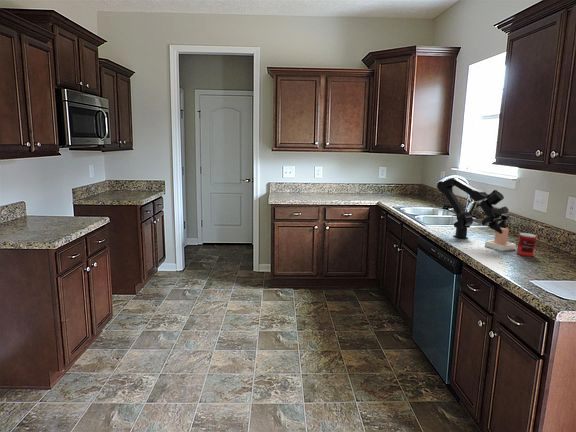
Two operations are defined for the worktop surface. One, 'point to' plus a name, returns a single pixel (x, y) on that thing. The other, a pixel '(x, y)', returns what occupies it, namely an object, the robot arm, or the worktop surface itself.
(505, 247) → the tray
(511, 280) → the worktop surface
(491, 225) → the robot arm
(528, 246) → the canned food
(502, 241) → the terracotta block
